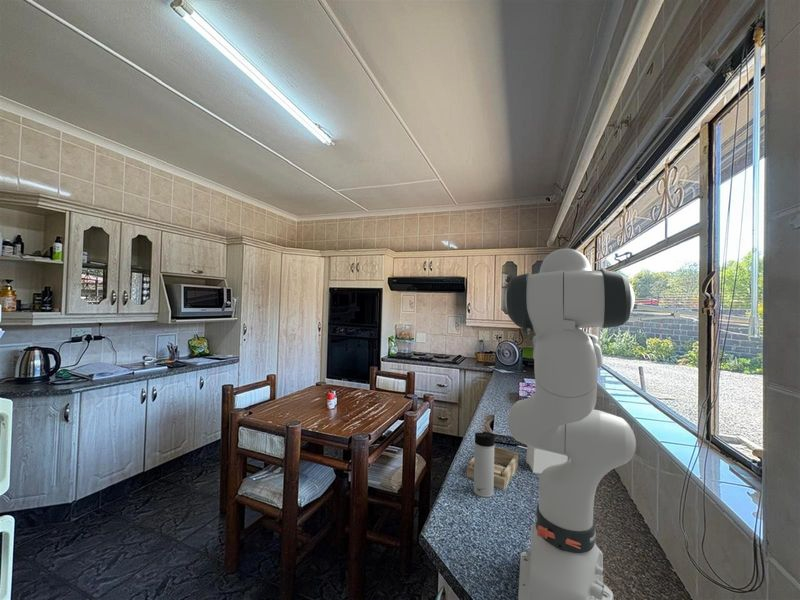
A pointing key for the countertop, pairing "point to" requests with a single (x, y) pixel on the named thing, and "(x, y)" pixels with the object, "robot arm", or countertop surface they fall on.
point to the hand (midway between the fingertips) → (565, 377)
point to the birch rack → (500, 457)
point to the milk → (543, 459)
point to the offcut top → (498, 470)
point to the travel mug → (484, 464)
